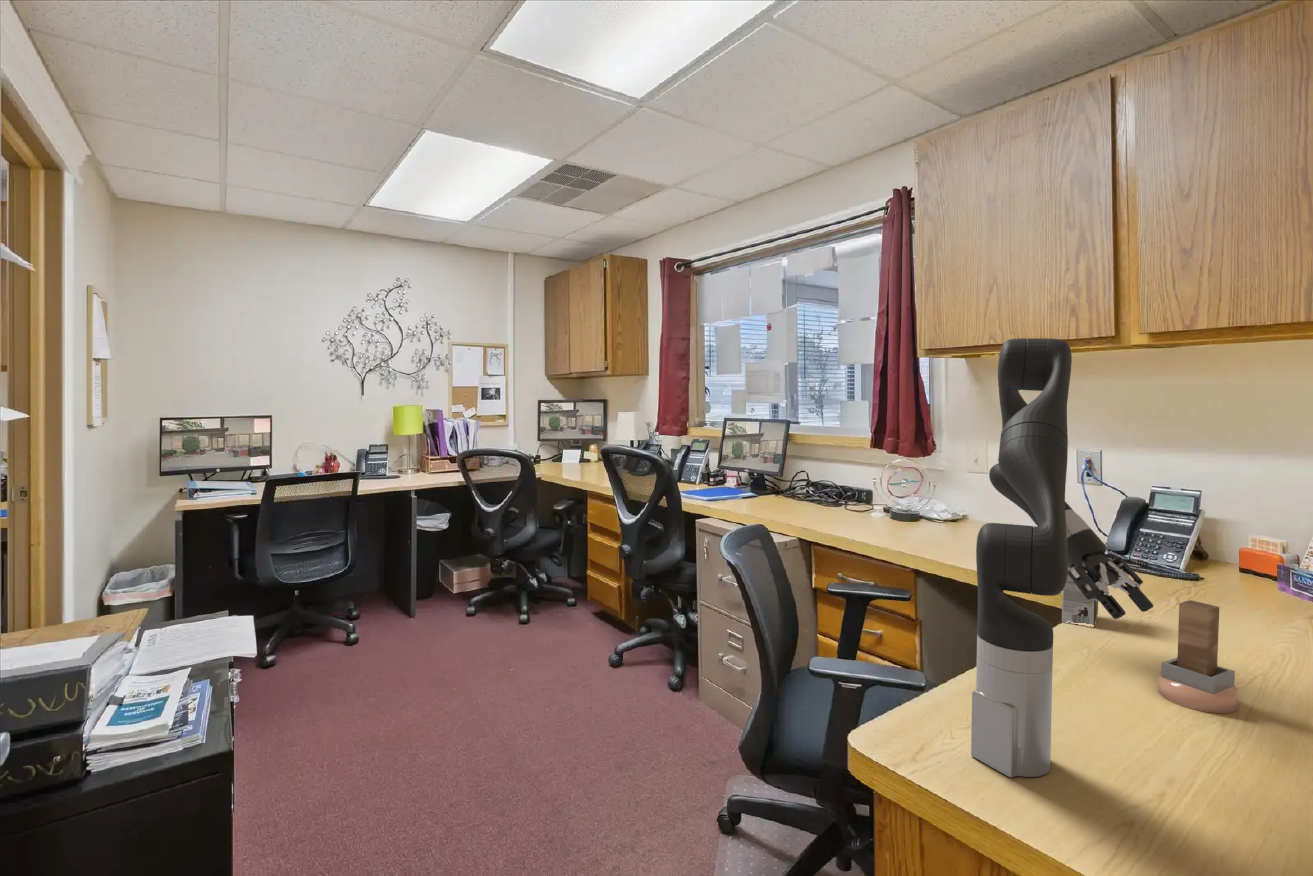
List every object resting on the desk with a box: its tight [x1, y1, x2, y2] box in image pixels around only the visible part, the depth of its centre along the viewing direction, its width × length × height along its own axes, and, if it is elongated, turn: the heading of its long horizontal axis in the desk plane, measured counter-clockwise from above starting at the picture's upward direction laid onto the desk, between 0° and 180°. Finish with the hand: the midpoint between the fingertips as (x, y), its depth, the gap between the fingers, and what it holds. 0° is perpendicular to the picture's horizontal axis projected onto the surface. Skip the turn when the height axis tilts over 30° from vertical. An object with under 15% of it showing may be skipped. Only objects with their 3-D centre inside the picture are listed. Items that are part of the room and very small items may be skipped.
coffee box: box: [1061, 566, 1099, 626], centre depth 143 cm, size 9×6×16 cm
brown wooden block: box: [1176, 599, 1220, 677], centre depth 105 cm, size 4×4×13 cm
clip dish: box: [1157, 657, 1239, 714], centre depth 105 cm, size 10×10×6 cm
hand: (1135, 613), depth 114 cm, fingers open, 8 cm apart
